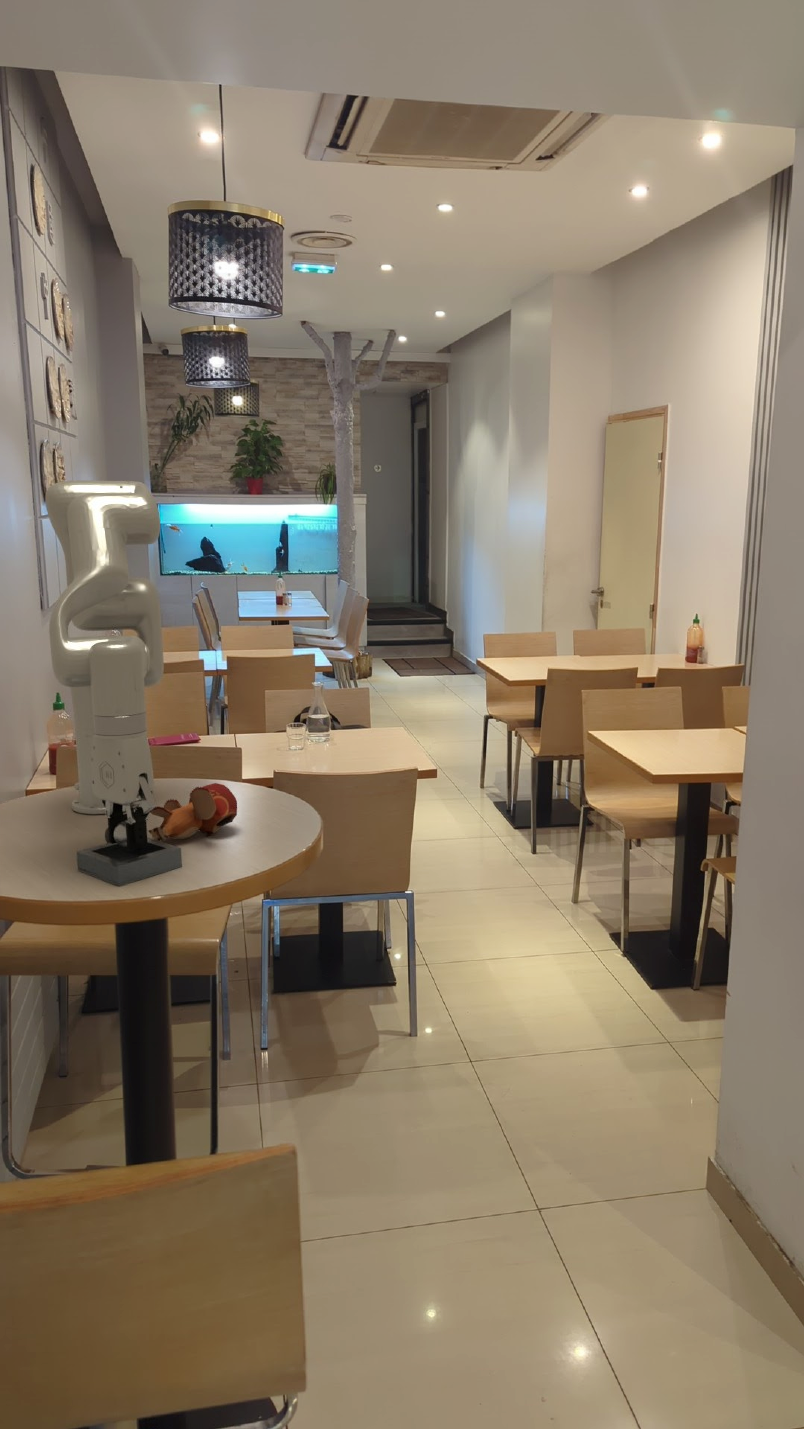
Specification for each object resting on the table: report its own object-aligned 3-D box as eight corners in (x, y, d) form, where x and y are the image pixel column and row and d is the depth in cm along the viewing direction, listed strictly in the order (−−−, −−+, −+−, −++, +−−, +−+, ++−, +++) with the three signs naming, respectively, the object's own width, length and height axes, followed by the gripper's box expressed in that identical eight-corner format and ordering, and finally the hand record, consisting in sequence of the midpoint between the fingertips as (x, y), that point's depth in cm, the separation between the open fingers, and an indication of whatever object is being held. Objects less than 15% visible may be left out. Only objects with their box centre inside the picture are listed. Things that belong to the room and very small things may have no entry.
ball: (100, 847, 158) (98, 823, 158) (122, 841, 161) (120, 818, 161) (114, 852, 156) (112, 828, 155) (135, 846, 159) (134, 822, 158)
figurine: (192, 849, 151) (269, 810, 160) (168, 798, 151) (246, 762, 160) (146, 865, 166) (218, 828, 176) (124, 818, 166) (198, 784, 175)
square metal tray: (77, 870, 147) (76, 851, 147) (140, 852, 155) (139, 834, 155) (118, 886, 140) (117, 866, 139) (182, 866, 148) (181, 847, 148)
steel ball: (109, 847, 147) (107, 821, 146) (132, 840, 150) (130, 815, 149) (124, 852, 144) (122, 826, 143) (147, 845, 147) (145, 820, 146)
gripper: (67, 722, 146) (76, 840, 150) (130, 735, 136) (139, 861, 139) (111, 715, 152) (119, 829, 155) (175, 727, 141) (182, 848, 144)
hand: (128, 843), depth 147 cm, fingers closed on steel ball, 4 cm apart
